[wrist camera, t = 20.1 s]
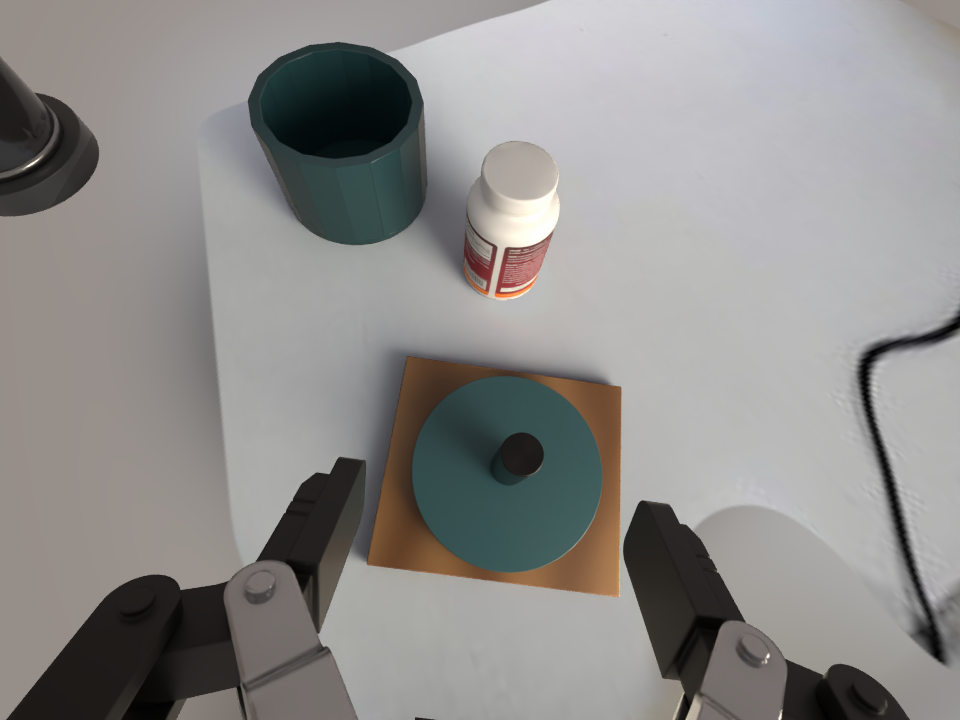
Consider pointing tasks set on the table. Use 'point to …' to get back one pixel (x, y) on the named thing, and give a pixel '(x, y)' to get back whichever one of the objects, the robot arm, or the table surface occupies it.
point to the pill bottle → (510, 220)
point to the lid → (507, 474)
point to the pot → (344, 140)
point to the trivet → (416, 548)
